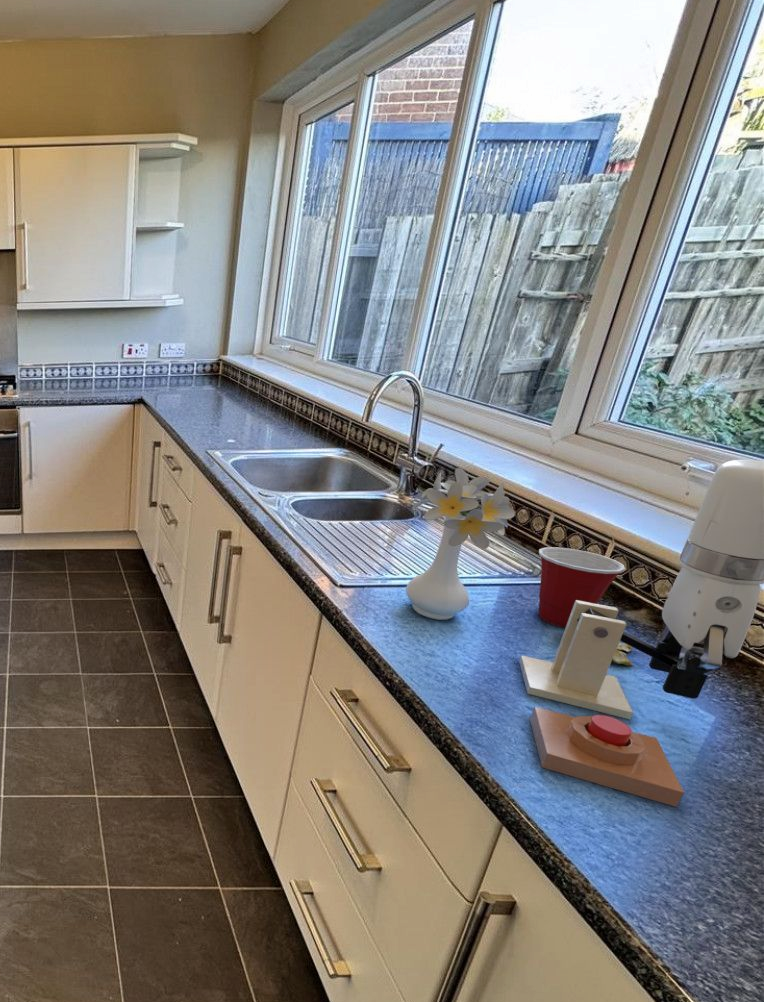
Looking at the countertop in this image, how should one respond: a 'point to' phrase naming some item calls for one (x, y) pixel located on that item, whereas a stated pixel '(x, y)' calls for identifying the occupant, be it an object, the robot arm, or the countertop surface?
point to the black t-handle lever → (643, 645)
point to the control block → (604, 757)
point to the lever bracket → (582, 664)
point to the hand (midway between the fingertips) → (672, 681)
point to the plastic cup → (572, 581)
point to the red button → (609, 730)
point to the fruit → (622, 654)
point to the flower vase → (456, 540)
